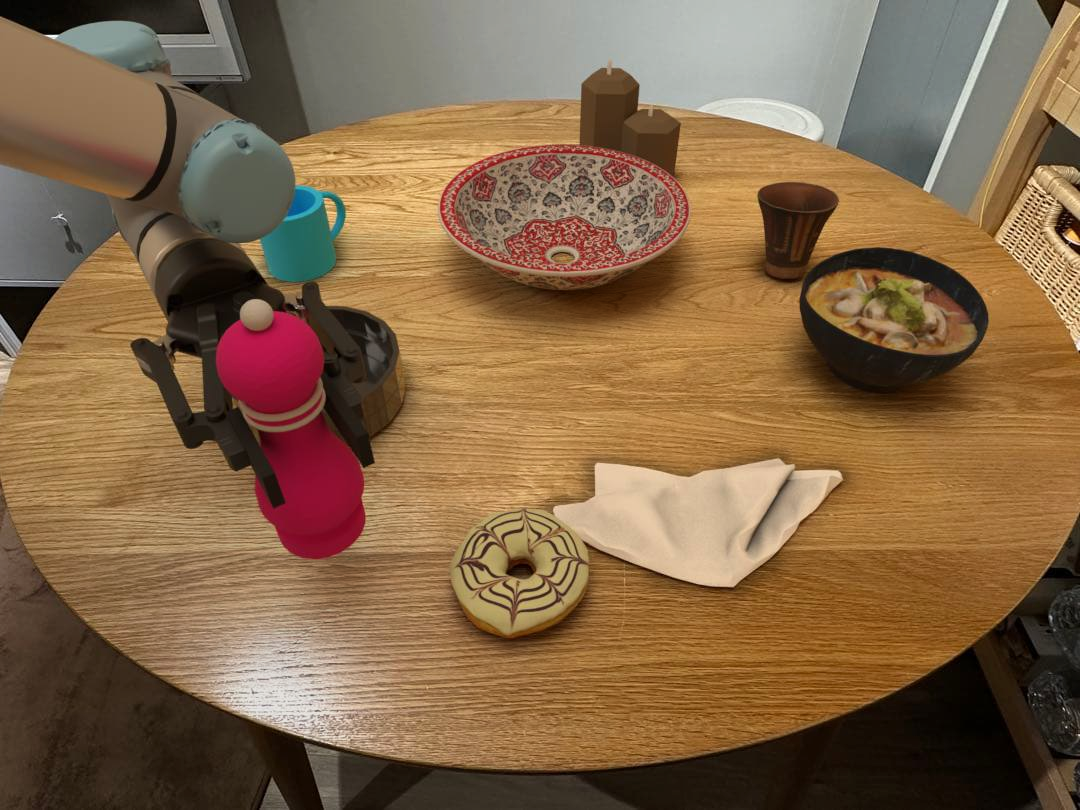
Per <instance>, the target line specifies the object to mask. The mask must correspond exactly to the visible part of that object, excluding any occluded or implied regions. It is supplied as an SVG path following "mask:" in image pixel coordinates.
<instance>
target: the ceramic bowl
mask: <svg viewBox="0 0 1080 810" xmlns="http://www.w3.org/2000/svg"><path fill="white" fill-rule="evenodd" d="M437 215H438V220H439V223H440V225H441V227H442V230H443V231H444V232H445V234H446V236H447V237H448V238H449V239H450V240H451V241H452V242H453V243H454V244H455V245H456V246H457V247H458V248H460V249H461V250H462V251H464V252H465V253H467V254H469V255H471V256H472V257H474V258H476V259H478V260H479V261H481V262H482V264H484V265H485V266H487V267H488V268H490V269H491V270H492V271H494V272H496V273H498V274H499V275H501V276H502V277H505V278H507V279H509V280H511V281H513V282H517V283H519V284H523V285H526V286H528V287H532V288H533V287H534V288H538V289H544V290H552V291H577V290H578V291H579V290H583V289H584V290H586V289H591V288H596V287H600V286H604V285H607V284H610V283H612V282H615V281H618V280H620V279H623V278H624V277H626V276H628V275H630V274H632V273H633V272H635V271H637V270H638V269H640V268H641V267H643V266H644V265H645V264H646V263H647V262H650V261H652V260H653V259H656V258H657V257H660V256H661V255H662V254H664V253H665V252H667V251H668V250H670V249H671V248H672V247H674V246H675V245H676V244H677V243H678V241H680V239H681V238H682V237H683V235H685V232H686V230H687V229H688V227H689V224H690V221H691V215H692V209H691V202H690V199H689V196H688V194H687V192H686V190H685V189H684V187H683V186H682V185H681V184H680V182H679V181H678V180H677V179H676V178H675V177H672V176H671V175H670V174H668V173H667V172H666V171H664V170H663V169H661V168H659V167H658V166H656V165H654V164H652V163H650V162H648V161H646V160H643V159H641V158H638V157H636V156H633V155H630V154H626V153H623V152H619V151H615V150H610V149H605V148H600V147H592V146H582V145H579V144H543V145H534V146H526V147H521V148H520V147H519V148H515V149H511V150H507V151H502V152H499V153H496V154H493V155H490V156H488V157H485V158H482V159H480V160H478V161H476V162H473V163H472V164H470V165H468V166H466V167H465V168H463V169H462V170H461V171H459V172H458V173H457V174H455V175H454V176H453V177H452V178H451V179H450V180H449V181H448V183H446V185H445V186H444V188H443V189H442V192H441V193H440V196H439V199H438V203H437ZM557 253H567V254H570V255H572V256H573V257H574V259H573V260H572V261H569V262H564V263H561V262H556V261H554V260H553V259H552V257H553V255H555V254H557Z"/></svg>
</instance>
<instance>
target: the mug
mask: <svg viewBox="0 0 1080 810" xmlns="http://www.w3.org/2000/svg"><path fill="white" fill-rule="evenodd" d="M325 199H328V200H331V201H332V202H333V203H334V205H335V208H336V218H335V221H334V224H333V226H332V228H331V227H330V222H329V218H328V214H327V209H326V203H325ZM346 213H347V210H346V205H345V203H344V201H343V199H342V198H341V197H340V196H339V195H337V193H334V192H331V191H328V190H317V189H316V188H314V187H310V186H306V185H296V184H295V195H294V199H293V201H292V205H291V207H290V209H289V212H288V214H287V216H286V217H285V219H284V220H283V221H282V223H281V224H280V225H279V226H278V227H277V228H276V229H275V230H274V231H273V232H271V233H270V234H268V235H267V236H265V237H263V238H261V239H259V242H260V245H261V248H262V252H263V256H264V259H265V262H266V265H267V269H268V271H269V273H270V275H271V276H273V277H274V278H275V279H277V280H281V281H283V282H288V283H289V282H291V283H299V282H309V281H312V280H315V279H318V278H321V277H323V276H324V275H327V274H328V273H329V272H330V271H331V270H332V269H333V268H334V267H335V265H336V264H337V254H336V249H335V245H334V241H335V240H336V239H337V237H339V235H340V233H341V232H342V230H343V227H344V225H345V221H346V217H347V214H346Z"/></svg>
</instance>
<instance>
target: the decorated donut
mask: <svg viewBox="0 0 1080 810" xmlns="http://www.w3.org/2000/svg"><path fill="white" fill-rule="evenodd" d="M520 564H521V565H528V566H530V567H531V569H532V571H533V574H532V575H531V576H530V577H528V578H517V577H514V576H512V575H509V574H507V572H509V571H510V569H512V568H514V566H517V565H520ZM449 576H450V583H451V587H452V588H453V590H454V594H455V596H456V599H457V600H458V601H457V602H458V604H459V606H460V607H461V609H462V611H463V613H464V614H465V616H466V618H467V619H468V620H469V621H470V622H471V623H473V625H474V626H475V627H476V628H478V629H480V630H484V631H485V632H487V633H490V634H492V635H495V636H499V637H503V638H506V639H515V638H517V637H521V636H525V635H529V634H535V633H537V632H541V631H544V630H547V629H548V628H551V627H552V626H554V625H557V624H559V623H560V622H562V621H563V620H565V619H566V617H567V616H568V615H570V614H571V612H573V610H574V609H575V608H576V607H577V606H578V605H579V603H580V602H581V601H582V600H583V597H584V595H585V594H586V591H587V589H588V586H589V580H590V557H589V550H588V547H587V546H586V545H585V542H583V541H582V540H581V538H580V537H579V535H578V534H577V533H576V532H575V531H574V530H572V529H571V528H570V527H569V526H567V525H566V524H565V523H563V522H562V521H561V520H560V519H558V518H557V517H556V516H555V515H554V514H552V513H550V512H548V511H546V510H543V509H540V508H539V509H538V508H526V507H522V508H513V509H508V510H504V511H499V512H493V513H491V514H489V515H487V516H486V517H485V518H483V519H482V520H481V522H480V523H479V524H477V525H474V526H472V527H471V528H470V529H469V530H468V532H467V534H466V535H465V537H464V540H463V541H462V542H461V543H460V544H459V546H458V547H457V548H456V550H455V552H454V554H453V556H452V558H451V562H450V564H449Z"/></svg>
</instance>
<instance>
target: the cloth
mask: <svg viewBox="0 0 1080 810" xmlns="http://www.w3.org/2000/svg"><path fill="white" fill-rule="evenodd" d="M842 481H844V478H843V474H842V473H841V472H840V471H839V470H835V469H806V470H805V469H804V470H803V469H801V470H796V463H791V464H786V463H785V462H784V461H782V460H781V459H780V457H776V458H773V459H768V460H762V461H757V462H753V463H748V464H742V465H738V466H736V465H735V466H731V467H725V468H717V469H709V470H708V469H707V470H702V471H701V472H698V473H695V474H693V475H692V476H682V475H677V474H673V473H669V472H665V471H661V470H656V469H651V468H648V467H641V466H634V465H627V464H619V463H605V462H604V463H603V462H596V463H595V464H594V496H593V497H591V498H589V499H588V500H586V501H582V502H576V503H568V504H560V505H555V506H554V507H553V509H552V512H553V515H554V516H556V517H557V518H558V519H560V520H561V521H562V522H563V523H565V524H566V525H567V526H569V527H570V528H571V529H572V530H574V531H575V532H576V533H577V534H578V535H579V537H580V538H581V540H582V541H583V543H584V544H588V546H591V547H593V548H595V549H597V550H599V551H601V552H604V553H606V554H609V555H612V556H614V557H617V558H619V559H622V560H624V561H627V562H629V563H632V564H634V565H637V566H640V567H642V568H646V569H648V570H652V571H654V572H656V573H659V574H663V575H665V576H668V577H670V578H671V577H672V578H674V579H676V580H681V581H685V582H689V583H693V584H697V585H702V586H707V587H719V588H720V587H723V588H735V586H736V585H738V583H739V582H740V581H742V580H744V578H746V577H747V576H749V575H750V574H751V573H753V572H754V571H755V570H756V569H758V568H759V567H760V566H763V564H765V563H766V562H767V561H769V560H770V559H771V558H772V557H773V556H775V554H776V553H777V552H778V551H779V550H780V549H781V548H782V547H783V546H784V544H785V543H786V542H787V541H788V540H789V539H790V538H791V537H792V536H793V535H794V534H795V532H796V531H797V529H798V527H799V525H800V522H802V521H803V520H804V519H806V518H807V517H809V515H811V514H812V513H813V512H814V511H816V510H817V508H818V507H820V505H821V504H822V502H823V501H825V499H826V498H827V497H828V495H829V494H830V493H831V492H832V491H833V490H834V489H835V488H836V487H837V486H838V485H840V483H841V482H842Z"/></svg>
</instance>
